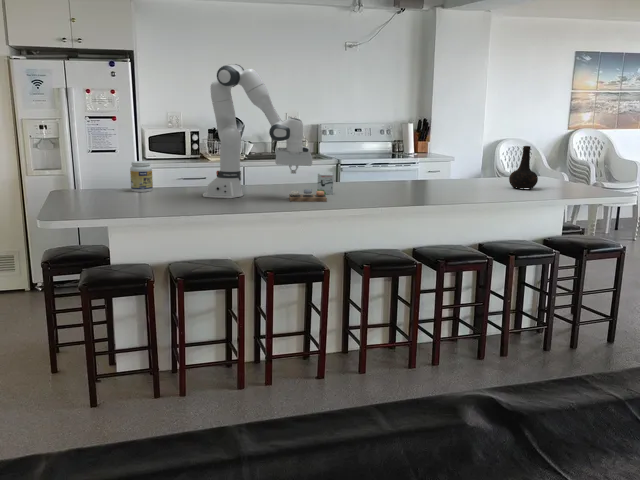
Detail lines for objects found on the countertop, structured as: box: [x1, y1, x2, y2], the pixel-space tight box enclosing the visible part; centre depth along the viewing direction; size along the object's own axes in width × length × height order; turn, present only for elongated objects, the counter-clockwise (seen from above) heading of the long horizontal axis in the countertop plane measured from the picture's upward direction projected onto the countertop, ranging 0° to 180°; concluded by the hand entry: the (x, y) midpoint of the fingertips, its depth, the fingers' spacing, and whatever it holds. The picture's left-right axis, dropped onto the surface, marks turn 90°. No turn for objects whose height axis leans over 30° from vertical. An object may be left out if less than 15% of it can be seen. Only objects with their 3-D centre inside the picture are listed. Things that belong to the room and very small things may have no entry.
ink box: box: [316, 172, 334, 195], centre depth 355 cm, size 9×5×12 cm, turn 105°
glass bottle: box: [508, 145, 539, 189], centre depth 392 cm, size 18×18×28 cm
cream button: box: [290, 190, 300, 195], centre depth 332 cm, size 4×4×2 cm
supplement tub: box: [129, 160, 154, 193], centre depth 350 cm, size 12×12×17 cm
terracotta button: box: [315, 190, 325, 196], centre depth 333 cm, size 4×4×2 cm
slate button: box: [303, 188, 313, 195], centre depth 332 cm, size 4×4×2 cm
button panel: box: [288, 193, 328, 203], centre depth 333 cm, size 20×12×2 cm, turn 95°
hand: (293, 173), depth 331 cm, fingers closed
